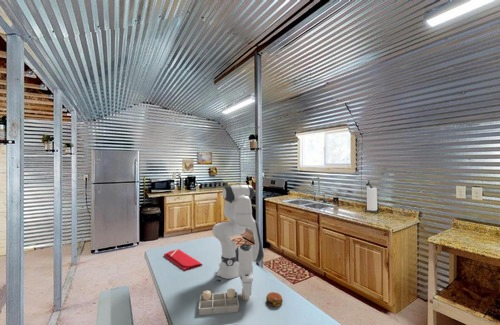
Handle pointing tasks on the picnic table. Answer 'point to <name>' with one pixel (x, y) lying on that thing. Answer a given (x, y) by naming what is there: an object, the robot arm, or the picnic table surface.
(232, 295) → the egg
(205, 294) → the egg
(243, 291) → the egg
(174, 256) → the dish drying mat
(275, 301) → the burger
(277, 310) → the picnic table surface
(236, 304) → the carton
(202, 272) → the picnic table surface
